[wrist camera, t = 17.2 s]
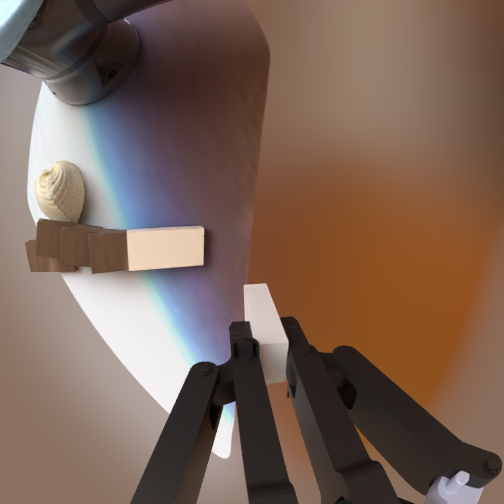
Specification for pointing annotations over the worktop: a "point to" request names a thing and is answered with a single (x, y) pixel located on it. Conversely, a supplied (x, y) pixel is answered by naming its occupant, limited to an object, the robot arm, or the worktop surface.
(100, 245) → the domino
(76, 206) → the seashell
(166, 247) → the domino
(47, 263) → the domino
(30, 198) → the worktop surface
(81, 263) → the domino
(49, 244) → the domino
